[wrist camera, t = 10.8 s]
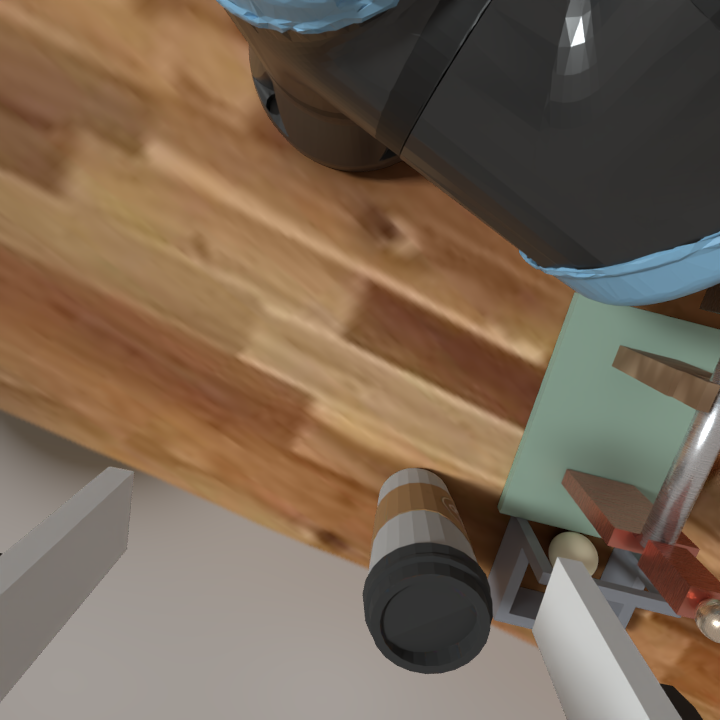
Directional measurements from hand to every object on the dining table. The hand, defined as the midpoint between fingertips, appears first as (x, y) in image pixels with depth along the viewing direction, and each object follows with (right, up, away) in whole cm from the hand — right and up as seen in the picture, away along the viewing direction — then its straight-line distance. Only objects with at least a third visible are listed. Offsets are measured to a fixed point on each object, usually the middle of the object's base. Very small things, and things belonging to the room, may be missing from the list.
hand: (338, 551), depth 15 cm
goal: (+19, -13, +30) cm, 38 cm away
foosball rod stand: (+23, +5, +24) cm, 34 cm away
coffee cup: (+6, -7, +29) cm, 30 cm away
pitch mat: (+22, 0, +26) cm, 35 cm away
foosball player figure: (+24, +6, +25) cm, 35 cm away
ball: (+19, -11, +27) cm, 35 cm away
